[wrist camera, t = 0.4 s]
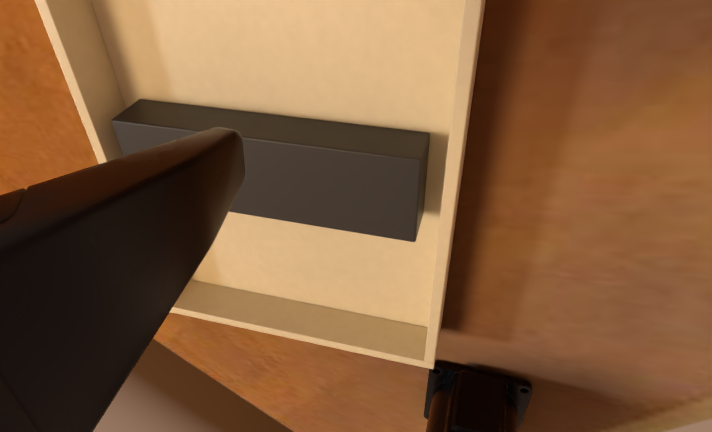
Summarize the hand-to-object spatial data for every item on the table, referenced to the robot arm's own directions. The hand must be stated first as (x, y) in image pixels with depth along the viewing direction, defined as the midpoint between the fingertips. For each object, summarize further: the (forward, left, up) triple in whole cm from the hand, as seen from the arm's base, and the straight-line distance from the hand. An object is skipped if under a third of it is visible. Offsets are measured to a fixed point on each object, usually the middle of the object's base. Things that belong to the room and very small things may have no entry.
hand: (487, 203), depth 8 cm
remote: (-8, +10, -13) cm, 19 cm away
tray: (-8, +10, -14) cm, 19 cm away
